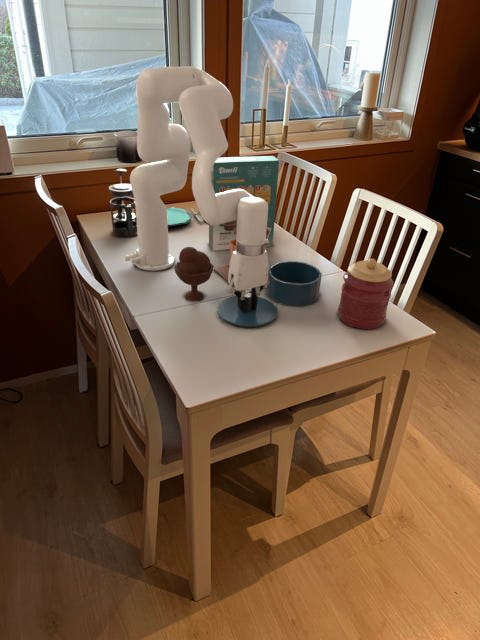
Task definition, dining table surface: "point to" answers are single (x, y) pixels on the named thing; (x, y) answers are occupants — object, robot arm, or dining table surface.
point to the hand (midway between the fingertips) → (247, 308)
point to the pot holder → (223, 271)
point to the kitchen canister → (365, 294)
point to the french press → (123, 219)
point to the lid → (247, 311)
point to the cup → (232, 247)
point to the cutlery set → (179, 216)
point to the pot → (294, 283)
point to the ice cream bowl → (193, 271)
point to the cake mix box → (252, 177)
